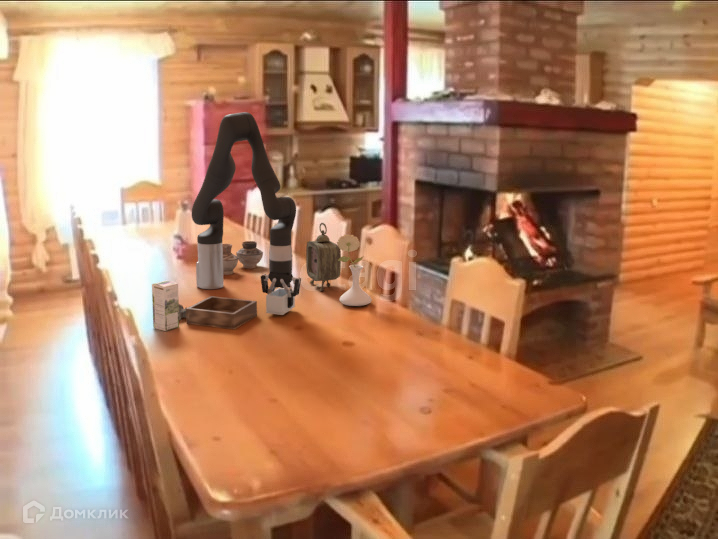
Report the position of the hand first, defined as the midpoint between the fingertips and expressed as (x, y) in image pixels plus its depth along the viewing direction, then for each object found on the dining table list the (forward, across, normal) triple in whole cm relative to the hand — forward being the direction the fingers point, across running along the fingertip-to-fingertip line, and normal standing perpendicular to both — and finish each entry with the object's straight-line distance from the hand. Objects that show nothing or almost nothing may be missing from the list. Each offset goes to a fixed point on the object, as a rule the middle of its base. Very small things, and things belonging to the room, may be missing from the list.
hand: (280, 306), depth 247 cm
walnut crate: (+3, -15, -13) cm, 20 cm away
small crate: (+1, 0, 0) cm, 1 cm away
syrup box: (+3, -27, -27) cm, 38 cm away
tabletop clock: (+3, +1, +38) cm, 38 cm away
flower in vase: (+3, +19, +20) cm, 28 cm away
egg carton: (+3, -31, -17) cm, 35 cm away
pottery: (+3, -42, +52) cm, 67 cm away
